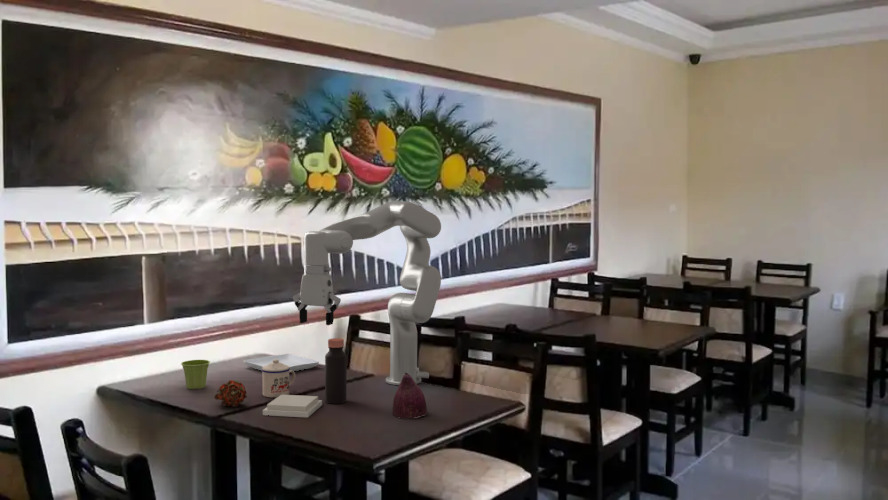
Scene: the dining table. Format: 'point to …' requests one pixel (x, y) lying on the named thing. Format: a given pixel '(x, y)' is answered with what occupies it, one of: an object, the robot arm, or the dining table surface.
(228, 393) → the dragon fruit
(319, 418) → the dining table surface
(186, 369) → the plant pot
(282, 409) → the stand
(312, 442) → the dining table surface
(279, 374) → the teacup with lid
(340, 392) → the dark brown water bottle
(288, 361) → the salad plate
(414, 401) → the vegetable
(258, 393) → the dining table surface
